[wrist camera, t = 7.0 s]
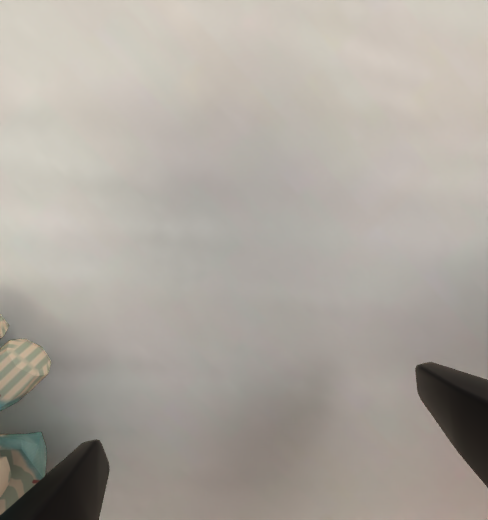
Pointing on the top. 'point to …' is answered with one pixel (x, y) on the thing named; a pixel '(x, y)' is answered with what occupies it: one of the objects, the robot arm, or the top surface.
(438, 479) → the top surface
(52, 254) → the top surface
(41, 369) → the stuffed animal
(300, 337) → the top surface
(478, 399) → the robot arm
